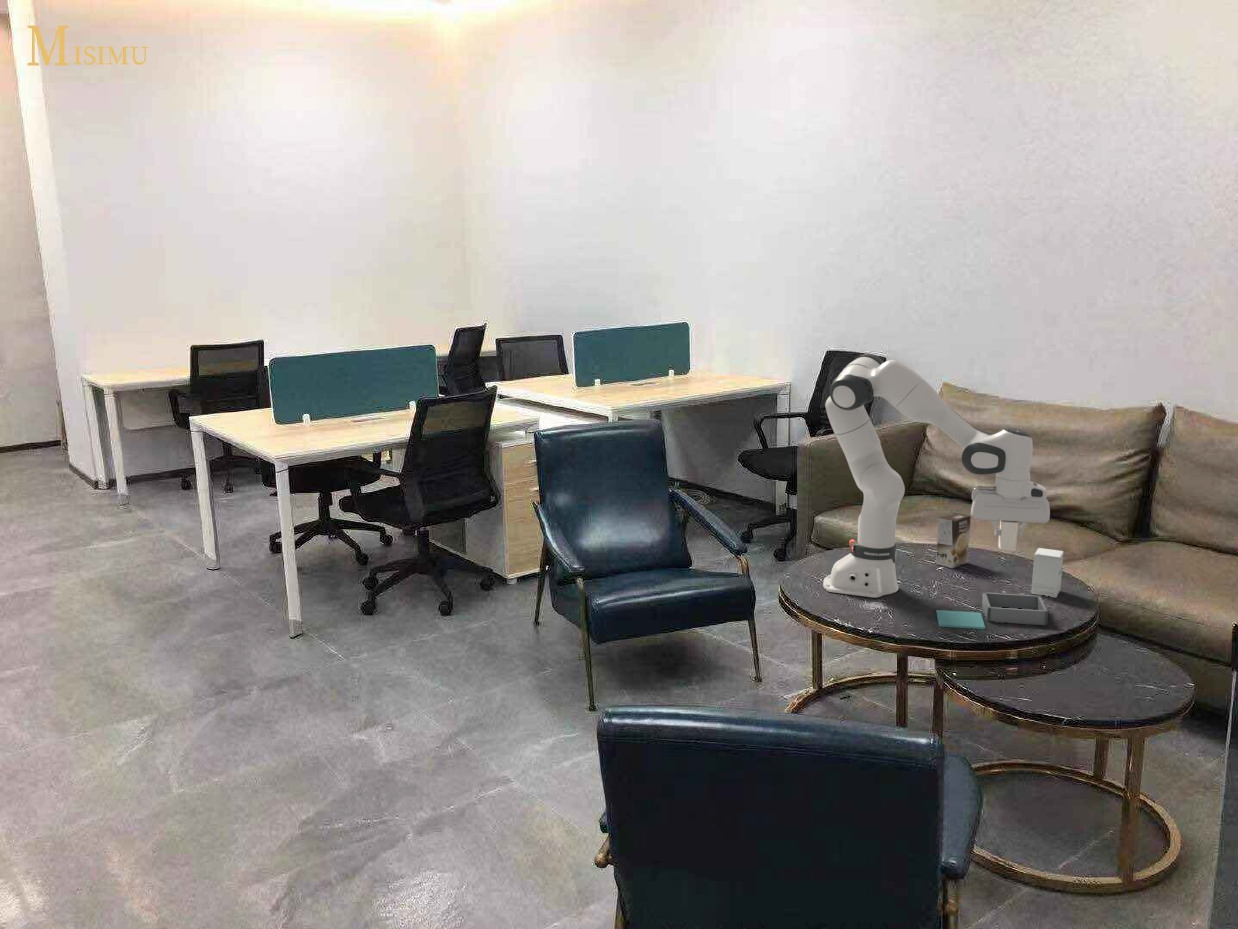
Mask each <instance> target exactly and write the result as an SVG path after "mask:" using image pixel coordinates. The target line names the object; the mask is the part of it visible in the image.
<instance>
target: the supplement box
mask: <svg viewBox="0 0 1238 929" xmlns="http://www.w3.org/2000/svg"><path fill="white" fill-rule="evenodd" d="M1064 552H1065V551H1063V550H1058V549H1050V548H1049V549H1048V548H1041V547H1037V549H1036V551H1035V553H1034V555H1033V556H1034V557H1033V564H1032V566H1033V568H1032V578H1031V580H1032V581H1031V582H1032V583H1031V591H1030V593H1031V594H1030V595H1037V596H1042V595H1045V596H1044V597H1048V596H1050V598H1055V599H1056V598H1057V597H1058V595H1059V593H1060V592H1061V586H1062V578H1063V577H1062V576H1063V563H1064V555H1065V554H1064Z"/></svg>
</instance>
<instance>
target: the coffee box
mask: <svg viewBox="0 0 1238 929" xmlns="http://www.w3.org/2000/svg"><path fill="white" fill-rule="evenodd" d="M971 517H972V515H969V514H968V515H967V514H963V513H957V512H951V513H949V514H946V515H945V514H944V515H941V516H939V517H938V526H937V538H936V539H937V540H936V541H937V543H936V556H935V557H936V558H935V559H936V560H935V564H936V565H939V566H942V567H946V568H950V569H954V568H957V567H959V566H962V565H965V564H967V563H968V560H969V547H970V545H969V544H970V532H971V531H970V530H971ZM961 564H962V565H961Z"/></svg>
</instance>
